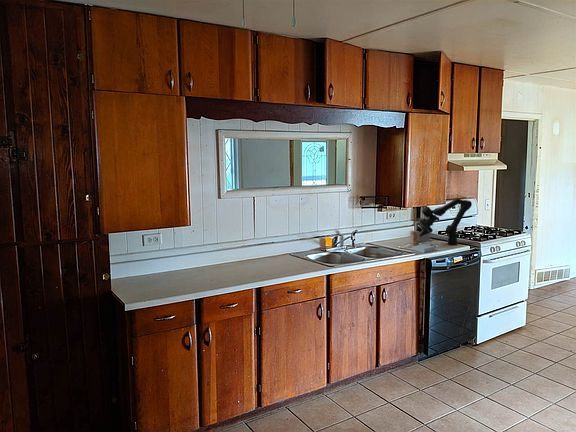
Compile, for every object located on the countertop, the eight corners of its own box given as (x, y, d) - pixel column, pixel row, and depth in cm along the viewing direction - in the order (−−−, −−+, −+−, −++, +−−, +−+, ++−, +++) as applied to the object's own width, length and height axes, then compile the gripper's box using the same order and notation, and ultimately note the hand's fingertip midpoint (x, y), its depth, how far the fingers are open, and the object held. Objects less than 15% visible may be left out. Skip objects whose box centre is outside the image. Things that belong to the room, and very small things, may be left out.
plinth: (423, 248, 375) (423, 244, 374) (435, 250, 365) (435, 246, 364) (412, 250, 369) (412, 246, 368) (424, 252, 359) (424, 248, 358)
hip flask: (416, 242, 395) (416, 219, 393) (413, 242, 399) (413, 218, 396) (430, 240, 402) (431, 217, 399) (427, 240, 406) (427, 217, 403)
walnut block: (416, 246, 382) (416, 230, 380) (418, 247, 377) (419, 231, 375) (410, 246, 381) (410, 231, 379) (413, 248, 376) (413, 232, 374)
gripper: (418, 212, 386) (405, 226, 385) (429, 215, 368) (416, 230, 367) (427, 221, 388) (414, 235, 388) (438, 225, 370) (425, 239, 370)
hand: (417, 235), depth 378 cm, fingers open, 9 cm apart
